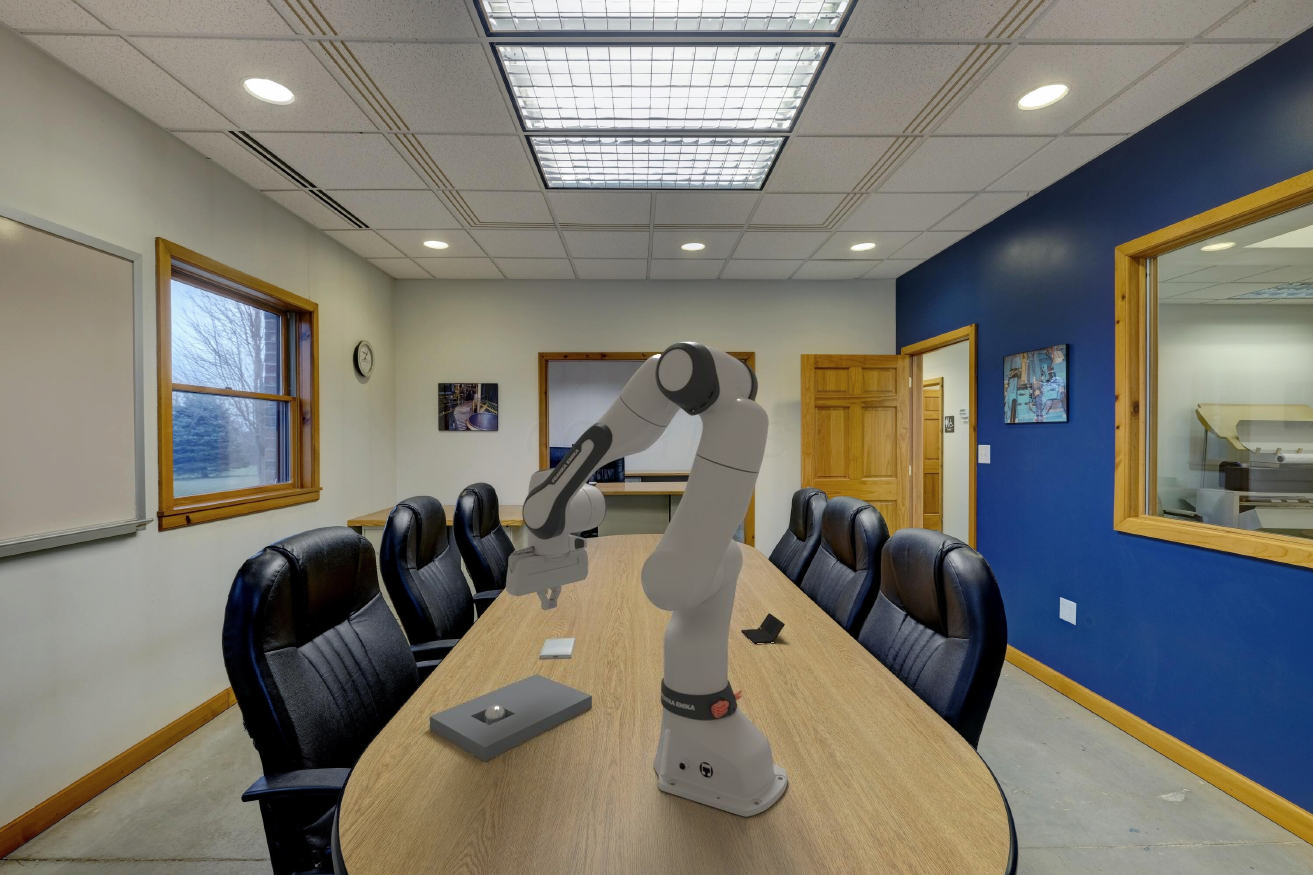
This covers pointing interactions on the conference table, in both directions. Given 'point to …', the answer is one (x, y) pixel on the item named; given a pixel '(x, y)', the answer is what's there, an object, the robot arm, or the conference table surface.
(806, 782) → the conference table surface
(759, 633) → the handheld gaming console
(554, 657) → the hard drive
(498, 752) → the board
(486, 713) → the steel ball
